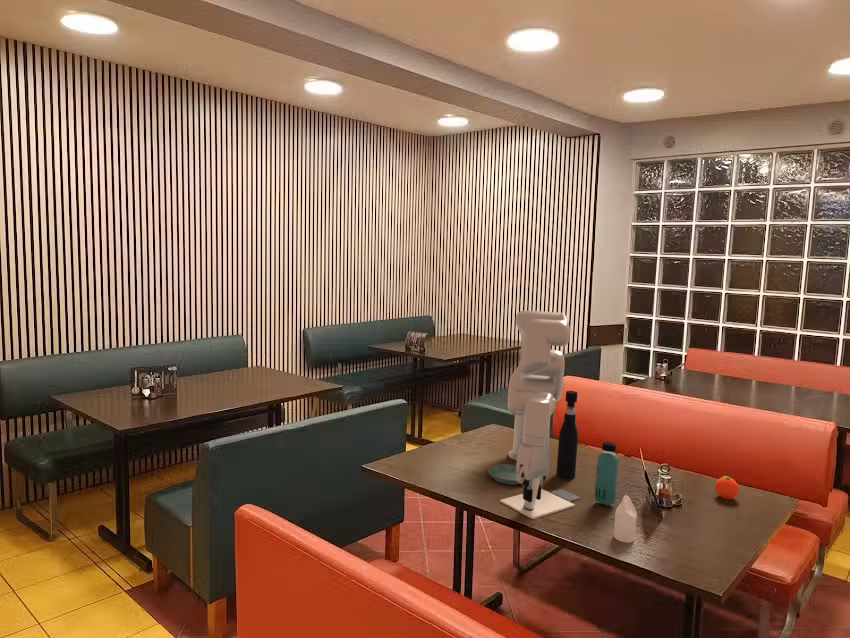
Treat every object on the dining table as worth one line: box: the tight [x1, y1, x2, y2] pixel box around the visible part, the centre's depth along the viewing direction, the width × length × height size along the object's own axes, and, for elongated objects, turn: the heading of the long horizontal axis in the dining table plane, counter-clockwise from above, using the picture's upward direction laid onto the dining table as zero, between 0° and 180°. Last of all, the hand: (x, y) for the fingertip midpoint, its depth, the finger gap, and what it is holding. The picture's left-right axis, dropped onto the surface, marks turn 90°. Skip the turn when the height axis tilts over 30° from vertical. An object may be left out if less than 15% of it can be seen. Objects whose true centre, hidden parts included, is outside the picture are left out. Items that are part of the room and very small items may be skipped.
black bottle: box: [556, 390, 579, 481], centre depth 210 cm, size 6×6×30 cm
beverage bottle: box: [593, 441, 620, 506], centre depth 187 cm, size 6×7×20 cm
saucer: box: [488, 463, 522, 486], centre depth 207 cm, size 15×15×3 cm
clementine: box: [714, 475, 740, 500], centre depth 198 cm, size 8×7×7 cm
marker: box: [523, 472, 542, 511], centre depth 180 cm, size 3×3×12 cm
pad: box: [499, 488, 576, 520], centre depth 187 cm, size 18×14×1 cm
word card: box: [550, 488, 581, 503], centre depth 194 cm, size 5×8×1 cm, turn 35°
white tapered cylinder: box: [613, 494, 638, 544], centre depth 166 cm, size 6×12×6 cm
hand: (531, 498), depth 180 cm, fingers closed on marker, 2 cm apart
